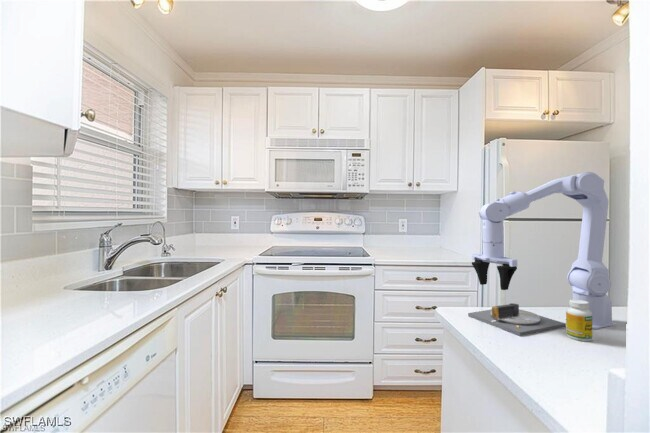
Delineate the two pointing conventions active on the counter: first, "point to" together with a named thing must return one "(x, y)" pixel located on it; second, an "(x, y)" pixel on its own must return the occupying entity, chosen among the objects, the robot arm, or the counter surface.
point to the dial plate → (518, 329)
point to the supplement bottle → (579, 320)
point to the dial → (514, 315)
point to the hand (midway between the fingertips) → (493, 286)
